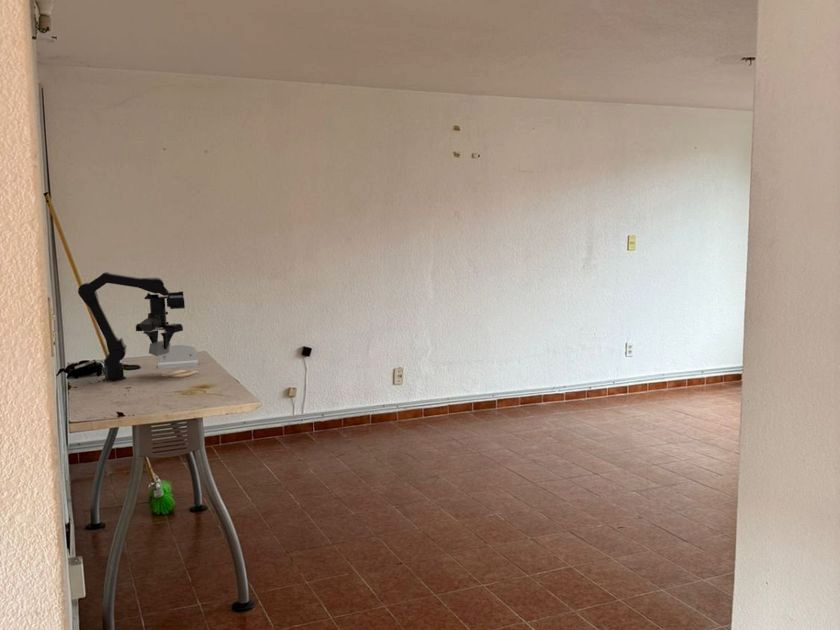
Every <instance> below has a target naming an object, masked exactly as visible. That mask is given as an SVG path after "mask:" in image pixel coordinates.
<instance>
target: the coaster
mask: <svg viewBox="0 0 840 630" xmlns="http://www.w3.org/2000/svg"><path fill="white" fill-rule="evenodd" d="M196 373H197V374H199V373H200V371H198V370H187V369H186V370H185V369H177V370H174V371H170V372H167V373H164V374H162V375H161V376H162V377H165V378H166V377H167V378H168V377H169V378H178V377H180V378H179V379H181V378H182V379H184V378H187V376H188V377H191V376H193V374H194V375H196ZM190 375H191V376H190Z"/></svg>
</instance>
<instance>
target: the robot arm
mask: <svg viewBox="0 0 840 630" xmlns="http://www.w3.org/2000/svg"><path fill="white" fill-rule="evenodd" d="M106 284H111V285H112V284H113V285H119V286H125V287H131V288H137V289H141V290H144V291H146V292H148V293H147V294H146V296H144V300H149V312H148V313H147V318H145V319H144V320H142V321H141V322H140V323H137V324H136V325H135V332H143V333H142V334H145V335H147V336H148V339H149V340H150V342H151V343H154V342H158V340H159V331H163V332H161V333H160V335H161V336H162V341H163V344H164V349H165V350H166V349H167V347H168V345H169V343H171V340H172V337H173V336H174V334H175V333H180V332H183V330H184V327H183V325H182V323H171V324H170V323H169V321H167V315H168V314H169V312H168V311H166V307H167V308H169V309H170V310H179V309H180V310H181V309H186V308H185V297H184V291H182V290H181V291H175V292H170V291H169V290H168V289H167V288H166V287H165V283H164V281H163V280H162V279H161V278H160V277H136V276H130V275H129V276H128V275H123V274H118V273H116V274H115V273H110V272H109V271H108V272H106V271H105V272H102V274H101V275H99V276H98V277H96V278H95V279H93V280H92V281H90V282H84V283H82V284H81V285H80V286H79V287H78V290H77V293H78V295H79V297H80V298H81V300H82V301H83V302H84V304H85V305H87V307H88V308H89V310H90V311H91V314H92V315H93V317H94V319H95V321H96V324H97V325H98V328H99V330H100V331H101V333H102V335H103V338H104V340H105V343H106V348H107V352H108V354H107V356H106V357H105V358H104V360H103V367H104V368H103V369H104V370H103V371H104V377H103V378H102V379H103V380H102V381H108V380H112V381H111V382H116V380H117V381H119V380H123V379H127V376H124V375H125V374H124V367H123V363H122V362H121V361H122V360H123V359H124V358H125V356H126V353H127V345H126V344H125V342H124V339H123V337H120V338H118V337H117V336H116V334H115V332H114V330H113V328H112V325H111V324H110V322H109V320H108V317H107V316H106V314H105V311H104V310H103V307H102V305H101V303H100V300H99V294H98V291H97V290H99V289H100V288H102V287H103V286H105V285H106ZM159 295H162V296H159Z"/></svg>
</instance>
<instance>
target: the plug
mask: <svg viewBox="0 0 840 630" xmlns="http://www.w3.org/2000/svg"><path fill="white" fill-rule="evenodd" d="M170 346H171V342H169V345H168V347H167V349H166V350H165V349H164V344H163V340H159V341H158V342H154V343H152V342H151V343H149V347H148V349H149V351H148V354H150V355H153V356H155V357H158V356H159V355H163V354H167V353H169V349H170Z"/></svg>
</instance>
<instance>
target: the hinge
mask: <svg viewBox="0 0 840 630" xmlns="http://www.w3.org/2000/svg"><path fill="white" fill-rule="evenodd" d="M156 364H157V367H156V368H157V370H162V369H163V370H165V368H167V369H177V367H180V368H188V367H187V366H194V367H199V364H200V363H199V359H198V353H197V348H196V347H194V346H191V345H185V344H174V345H170V349H169V353H167V354H163V355H159V356H157V362H156Z"/></svg>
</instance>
